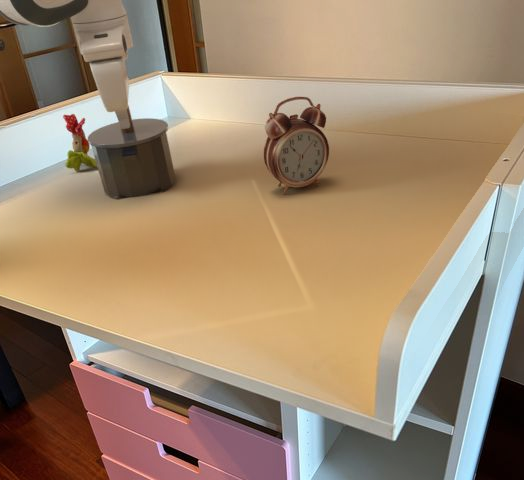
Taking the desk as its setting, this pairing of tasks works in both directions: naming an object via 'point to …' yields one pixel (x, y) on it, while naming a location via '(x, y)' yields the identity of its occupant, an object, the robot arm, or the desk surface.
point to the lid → (128, 133)
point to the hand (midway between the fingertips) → (125, 124)
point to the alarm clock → (296, 146)
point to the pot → (136, 168)
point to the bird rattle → (78, 144)
